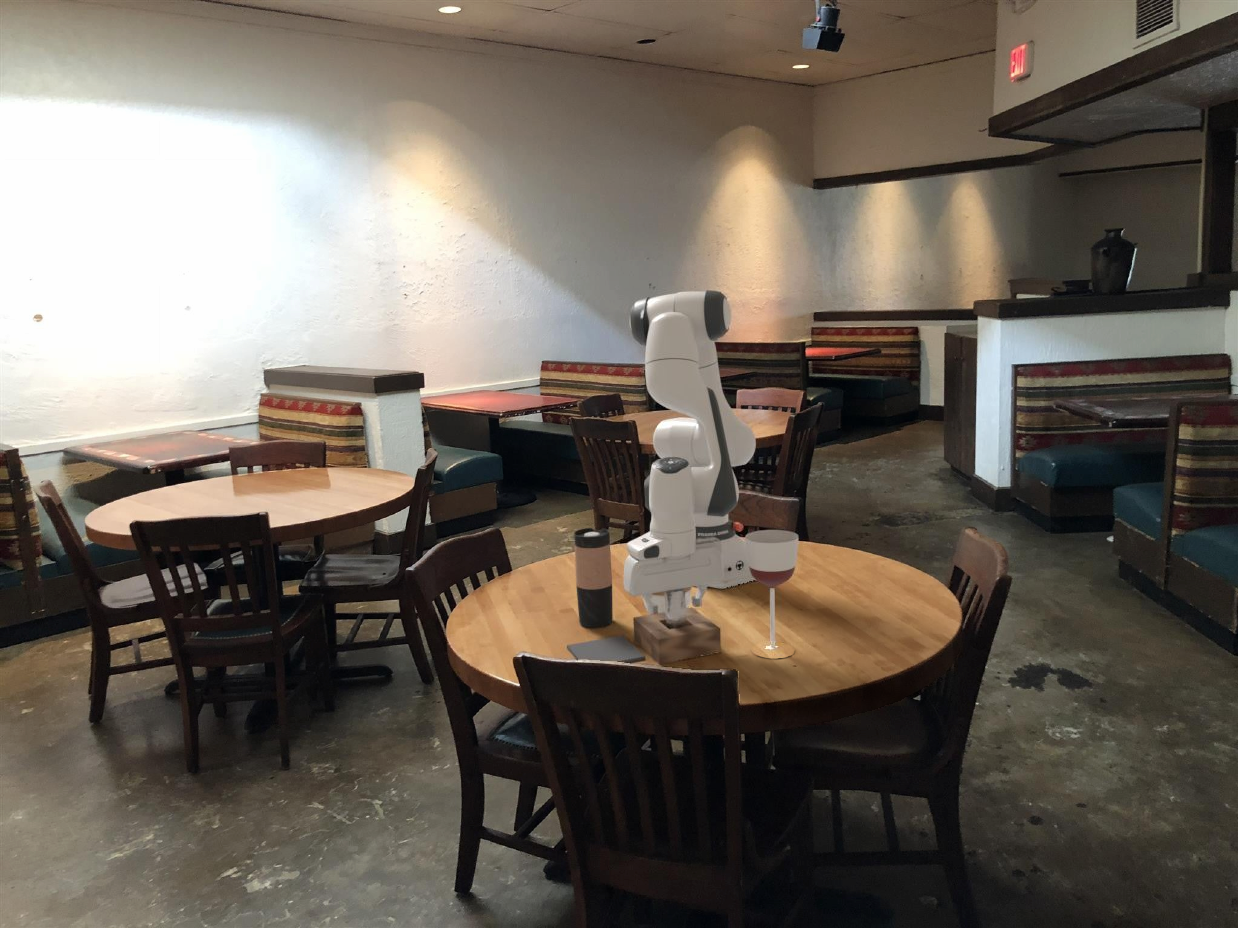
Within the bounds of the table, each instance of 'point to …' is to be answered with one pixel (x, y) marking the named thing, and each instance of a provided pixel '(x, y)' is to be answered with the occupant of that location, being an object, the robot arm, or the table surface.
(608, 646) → the mat
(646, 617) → the block
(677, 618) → the peg
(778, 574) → the wineglass
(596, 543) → the travel mug
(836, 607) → the table surface
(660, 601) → the lidded jar
